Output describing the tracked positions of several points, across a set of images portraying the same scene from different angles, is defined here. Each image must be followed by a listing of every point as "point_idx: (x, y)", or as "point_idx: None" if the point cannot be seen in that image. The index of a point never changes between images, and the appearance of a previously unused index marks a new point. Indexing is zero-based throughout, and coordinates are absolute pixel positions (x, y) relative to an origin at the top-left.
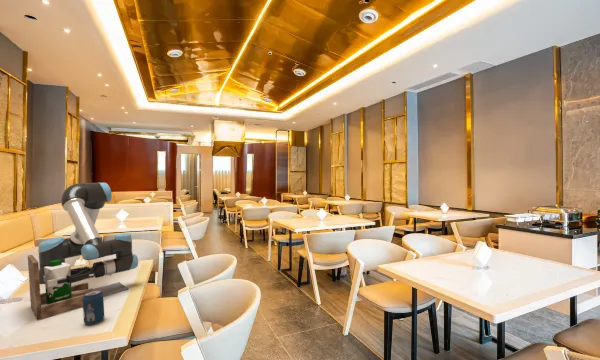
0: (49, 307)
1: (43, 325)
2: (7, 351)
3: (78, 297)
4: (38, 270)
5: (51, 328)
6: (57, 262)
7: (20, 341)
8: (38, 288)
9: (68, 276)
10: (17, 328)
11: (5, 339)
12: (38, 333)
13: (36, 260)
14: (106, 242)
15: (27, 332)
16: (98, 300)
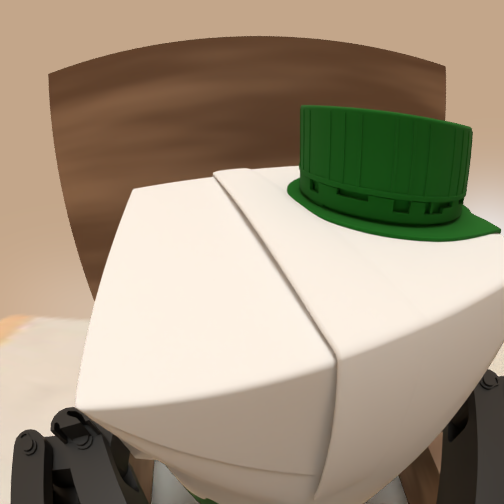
0: None
1: (69, 395)
2: (18, 317)
3: None
4: (55, 138)
5: (20, 399)
6: (310, 132)
7: (32, 337)
8: (86, 267)
9: (57, 430)
10: None
11: (83, 320)
12: (27, 370)
13: (134, 49)
14: None
15: (66, 356)
16: None
